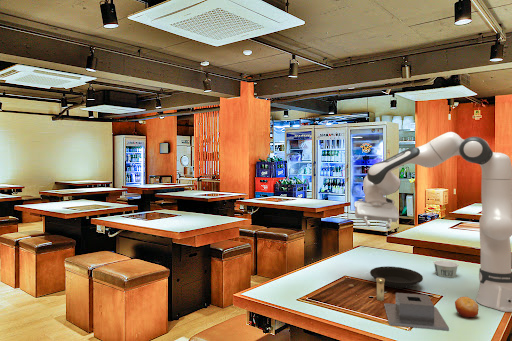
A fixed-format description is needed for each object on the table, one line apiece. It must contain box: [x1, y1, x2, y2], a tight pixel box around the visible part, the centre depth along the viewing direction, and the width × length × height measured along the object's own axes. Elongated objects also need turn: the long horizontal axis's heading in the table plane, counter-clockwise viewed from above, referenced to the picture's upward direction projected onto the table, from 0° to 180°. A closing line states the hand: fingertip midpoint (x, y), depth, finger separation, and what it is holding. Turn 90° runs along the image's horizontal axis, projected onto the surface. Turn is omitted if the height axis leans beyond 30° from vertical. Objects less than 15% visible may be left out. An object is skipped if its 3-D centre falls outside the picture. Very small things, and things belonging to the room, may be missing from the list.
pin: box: [375, 278, 385, 302], centre depth 165 cm, size 4×4×9 cm
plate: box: [369, 266, 424, 290], centre depth 184 cm, size 28×24×6 cm
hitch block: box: [383, 292, 450, 332], centre depth 145 cm, size 20×20×7 cm
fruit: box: [454, 296, 479, 318], centre depth 147 cm, size 8×8×8 cm
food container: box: [432, 260, 459, 279], centre depth 201 cm, size 12×12×6 cm
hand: (378, 226), depth 174 cm, fingers open, 8 cm apart
